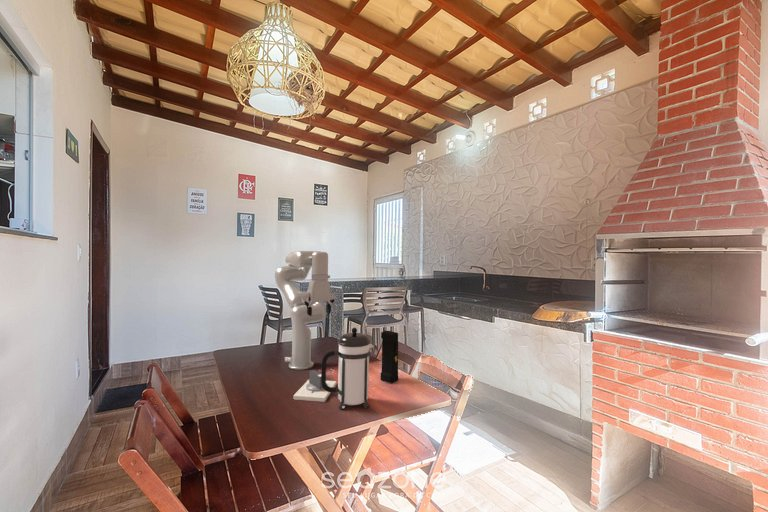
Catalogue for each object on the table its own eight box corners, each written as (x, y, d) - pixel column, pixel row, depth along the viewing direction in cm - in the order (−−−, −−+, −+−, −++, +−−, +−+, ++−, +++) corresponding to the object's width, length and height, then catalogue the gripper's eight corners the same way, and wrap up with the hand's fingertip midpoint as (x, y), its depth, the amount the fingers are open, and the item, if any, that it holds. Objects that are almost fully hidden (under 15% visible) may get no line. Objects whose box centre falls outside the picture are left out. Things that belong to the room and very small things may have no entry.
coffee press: (351, 391, 146) (352, 321, 146) (379, 402, 136) (380, 327, 136) (319, 405, 133) (320, 328, 132) (348, 418, 123) (349, 335, 122)
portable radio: (400, 381, 159) (401, 327, 159) (392, 384, 155) (393, 329, 154) (388, 376, 164) (389, 325, 164) (379, 379, 160) (380, 326, 160)
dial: (302, 386, 147) (302, 372, 147) (320, 381, 153) (320, 367, 153) (312, 392, 140) (313, 378, 140) (331, 387, 146) (331, 373, 146)
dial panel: (293, 399, 137) (293, 395, 137) (308, 382, 155) (308, 378, 155) (324, 401, 136) (324, 397, 136) (336, 384, 153) (336, 380, 153)
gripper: (332, 276, 168) (331, 311, 169) (299, 278, 158) (298, 314, 158) (339, 278, 162) (339, 313, 163) (306, 279, 152) (305, 317, 152)
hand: (319, 314), depth 160 cm, fingers open, 9 cm apart
